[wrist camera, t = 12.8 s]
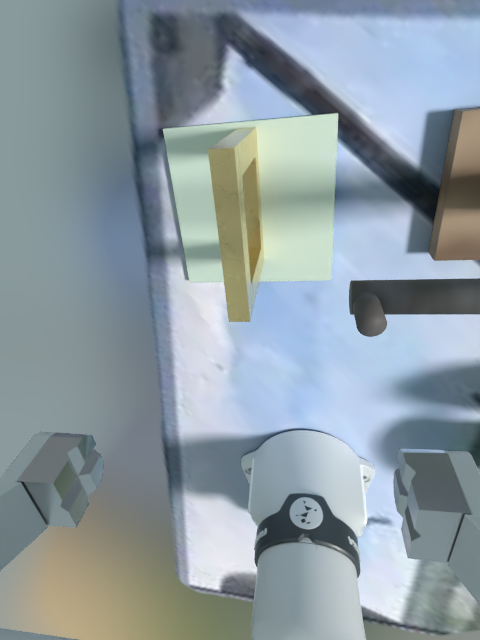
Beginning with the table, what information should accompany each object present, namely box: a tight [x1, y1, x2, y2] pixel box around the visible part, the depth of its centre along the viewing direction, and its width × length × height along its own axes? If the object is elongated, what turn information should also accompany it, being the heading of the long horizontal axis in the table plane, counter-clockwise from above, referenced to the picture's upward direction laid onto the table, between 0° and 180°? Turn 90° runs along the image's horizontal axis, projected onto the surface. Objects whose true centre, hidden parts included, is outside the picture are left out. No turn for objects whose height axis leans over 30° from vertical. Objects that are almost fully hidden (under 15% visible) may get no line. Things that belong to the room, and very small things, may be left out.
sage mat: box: [163, 113, 338, 283], centre depth 36 cm, size 15×15×1 cm
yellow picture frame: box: [208, 127, 264, 322], centre depth 30 cm, size 12×2×12 cm, turn 5°
